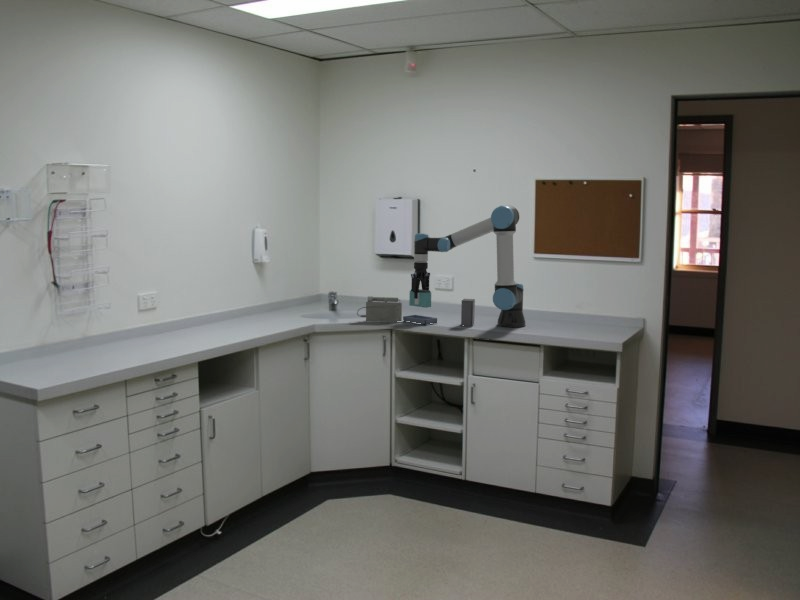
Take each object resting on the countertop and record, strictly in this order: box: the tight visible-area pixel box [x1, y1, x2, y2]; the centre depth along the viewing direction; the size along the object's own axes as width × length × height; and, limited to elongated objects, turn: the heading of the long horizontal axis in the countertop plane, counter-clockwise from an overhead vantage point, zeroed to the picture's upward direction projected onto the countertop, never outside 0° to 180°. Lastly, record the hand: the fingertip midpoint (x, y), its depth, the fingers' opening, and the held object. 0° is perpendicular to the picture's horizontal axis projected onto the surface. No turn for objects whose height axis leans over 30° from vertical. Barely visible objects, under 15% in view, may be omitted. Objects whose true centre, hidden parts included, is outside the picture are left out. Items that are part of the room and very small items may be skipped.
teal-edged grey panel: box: [408, 288, 432, 309], centre depth 412 cm, size 12×4×9 cm, turn 47°
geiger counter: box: [356, 295, 403, 323], centre depth 415 cm, size 14×6×25 cm
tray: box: [402, 314, 438, 326], centre depth 413 cm, size 17×10×3 cm, turn 46°
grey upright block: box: [460, 298, 476, 327], centre depth 405 cm, size 6×8×14 cm
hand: (420, 303), depth 412 cm, fingers closed on teal-edged grey panel, 4 cm apart
